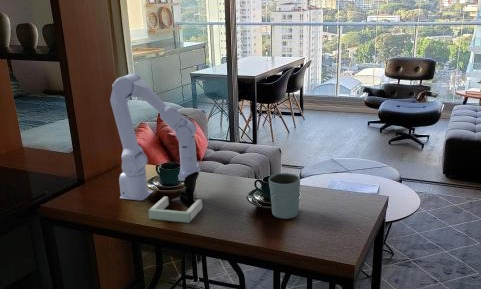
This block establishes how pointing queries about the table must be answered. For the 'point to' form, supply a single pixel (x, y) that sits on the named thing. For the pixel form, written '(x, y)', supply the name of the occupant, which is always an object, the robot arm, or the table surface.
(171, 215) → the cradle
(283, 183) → the pale green cup
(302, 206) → the table surface
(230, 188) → the table surface
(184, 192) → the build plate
